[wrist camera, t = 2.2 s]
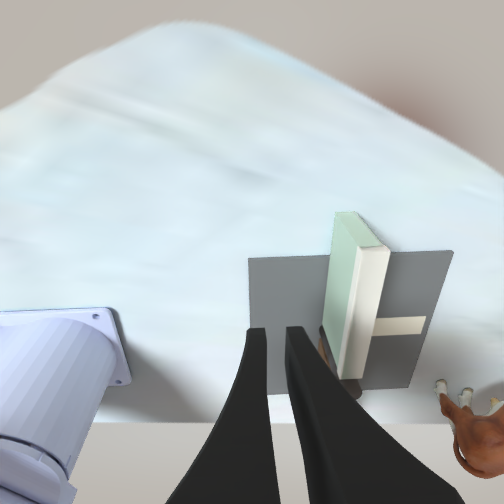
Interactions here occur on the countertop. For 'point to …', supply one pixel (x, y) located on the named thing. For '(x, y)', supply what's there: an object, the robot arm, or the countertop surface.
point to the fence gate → (353, 292)
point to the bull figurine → (475, 433)
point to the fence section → (327, 356)
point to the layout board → (312, 307)
